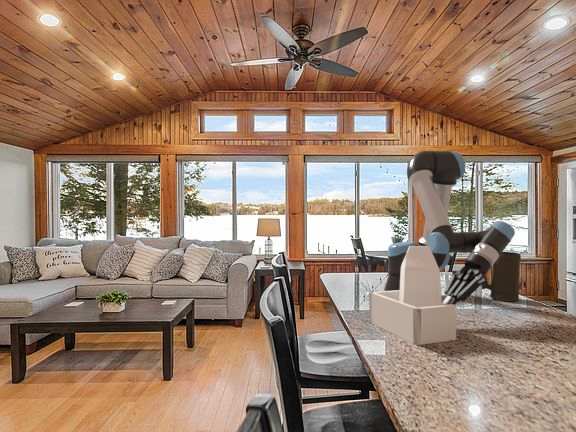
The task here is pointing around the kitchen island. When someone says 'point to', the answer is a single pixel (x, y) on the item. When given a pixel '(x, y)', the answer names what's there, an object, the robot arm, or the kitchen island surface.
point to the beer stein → (505, 277)
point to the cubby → (412, 319)
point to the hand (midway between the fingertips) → (440, 314)
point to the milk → (420, 278)
